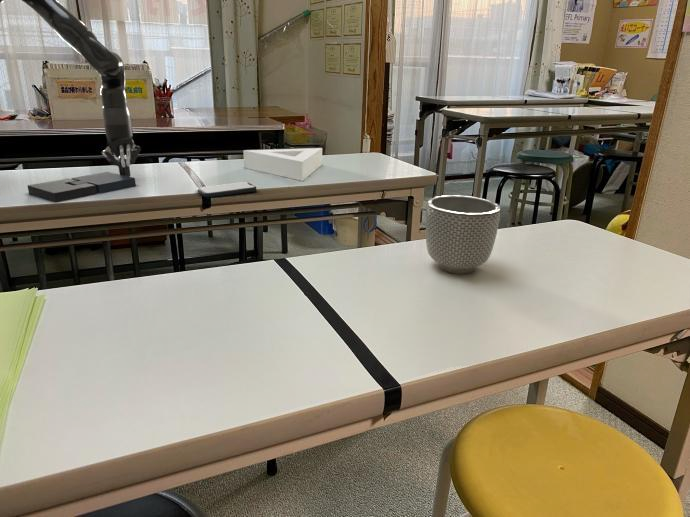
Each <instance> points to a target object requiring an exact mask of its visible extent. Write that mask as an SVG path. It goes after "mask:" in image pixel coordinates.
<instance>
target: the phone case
mask: <svg viewBox="0 0 690 517" xmlns="http://www.w3.org/2000/svg"><path fill="white" fill-rule="evenodd" d="M256 191H257V186H256V185H254V184H252V183H250V182H248V181H240V182H232V183H231V182H230V183H223V184H215V185H206V186H199V187H197V193H198V194H200V195H201V196H202V197H204V198H216V197H224V196H231V195H232V196H233V195H238V194H247V193H254V192H256Z"/></svg>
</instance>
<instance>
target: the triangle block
mask: <svg viewBox="0 0 690 517" xmlns="http://www.w3.org/2000/svg"><path fill="white" fill-rule="evenodd" d="M242 151H243V152H242V153H243V168H244V169H248V170H253V171H255V172H256V171H257V172H262V173H265V174H269V175H275V176H279V177H284V178H288V179H292V180H296V181H302V182H303V181H304V180H305V179H307V178H308V177H309V176H311V174H313V173H314V172H316V171H317V170H318V169H319V168H320V167H321V166H323V147H307V148H277V149H276V148H275V149H271V148H270V149H245V150H244V149H243V150H242Z"/></svg>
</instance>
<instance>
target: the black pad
mask: <svg viewBox="0 0 690 517" xmlns="http://www.w3.org/2000/svg"><path fill="white" fill-rule="evenodd" d="M76 181H77V180H73V179H71V178H63V179H57V180H51V181H45V182H39V183H34V184H27V191H28V195H32V196H35V197H38V198H41V199H44V200H48V201H51V202H54V203H58V202H63V201H67V200H73V199H78V198H82V197H83V198H84V197H87V196H93V195H97V194H98V193H97V190H96V185H92V184H88V183H84V184H78V185H74V186H73V185H70V182H76Z"/></svg>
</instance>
